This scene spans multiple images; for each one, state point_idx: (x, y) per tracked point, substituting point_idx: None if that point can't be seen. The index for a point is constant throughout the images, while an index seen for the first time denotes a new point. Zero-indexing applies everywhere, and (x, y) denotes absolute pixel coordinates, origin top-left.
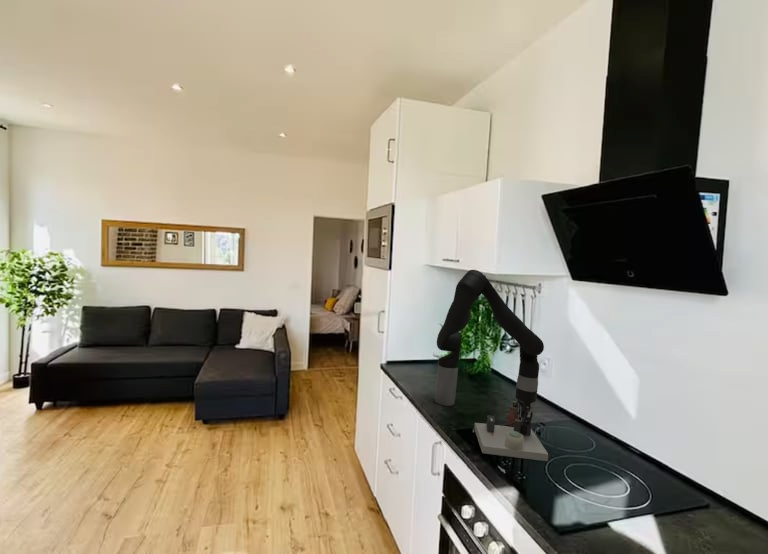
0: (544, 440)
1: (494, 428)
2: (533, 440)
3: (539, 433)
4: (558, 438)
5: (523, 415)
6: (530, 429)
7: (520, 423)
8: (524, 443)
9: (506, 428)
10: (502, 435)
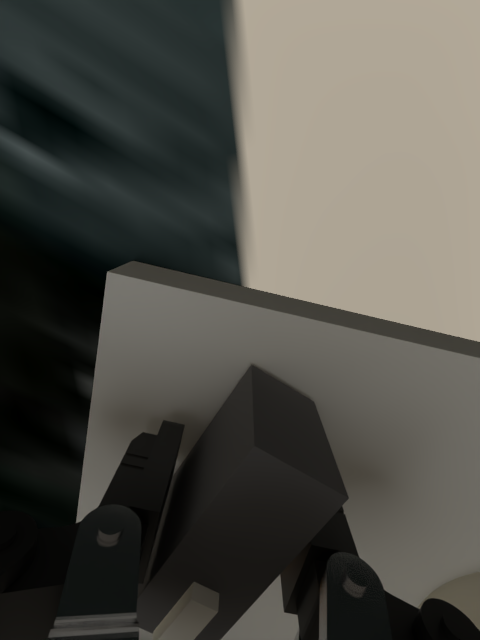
0: (236, 157)
1: (147, 633)
2: (404, 407)
3: (53, 111)
4: None
5: (66, 586)
6: (327, 454)
7: (250, 596)
8: (454, 523)
9: None
10: (285, 626)
